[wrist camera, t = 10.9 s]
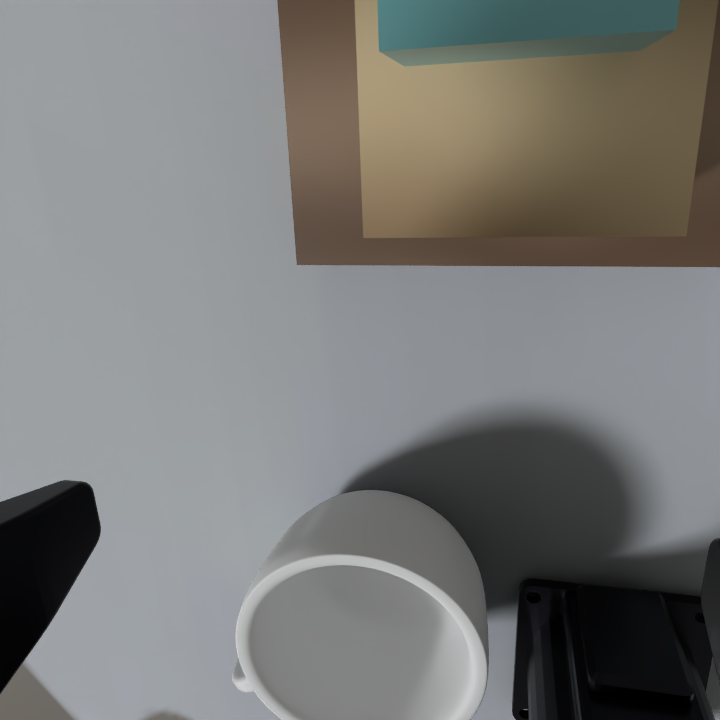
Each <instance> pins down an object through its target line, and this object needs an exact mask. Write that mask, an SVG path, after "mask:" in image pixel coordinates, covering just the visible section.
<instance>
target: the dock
mask: <svg viewBox="0 0 720 720" xmlns="http://www.w3.org/2000/svg"><path fill="white" fill-rule="evenodd" d="M278 13H279V26H280V40H281V54H282V67H283V81H284V95H285V109H286V122H287V136H288V150H289V163H290V177H291V191H292V204H293V218H294V232H295V245H296V259H297V265H435V266H634V267H720V0H718V7H717V14H716V22H715V29H714V36H713V44H712V51H711V58H710V66H709V73H708V81H707V88H706V95H705V103H704V110H703V117H702V125H701V132H700V139H699V147H698V154H697V162H696V169H695V176H694V184H693V191H692V198H691V206H690V213H689V220H688V228H687V235H686V236H673V237H466V238H363V217H362V190H361V162H360V135H359V108H358V81H357V54H356V27H355V0H278Z"/></svg>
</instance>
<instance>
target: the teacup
mask: <svg viewBox="0 0 720 720" xmlns="http://www.w3.org/2000/svg"><path fill="white" fill-rule="evenodd" d="M236 648H237V654H238V660H237V662H236V664H235V667H234V669H233V674H232V679H233V682H234V684H235V685H236V686H237V687H238V689H239V690H241V691H243V692H253V691H254V692H255V693H256V694H257V696H258V697H259V698H260V699H261V700H262V702H263V703H264V704H265V705H266V706H267V707H268V708H269V709H270V710H271V711H272V712H273V713H274V714H275V715H277V716H278V717H279V718H280V719H282V720H470V719H471V718H472V717H473V715H474V714H475V712H476V711H477V709H478V708H479V706H480V704H481V702H482V699H483V697H484V694H485V690H486V686H487V679H488V666H489V647H488V624H487V610H486V600H485V592H484V587H483V582H482V578H481V574H480V571H479V568H478V566H477V563H476V561H475V559H474V557H473V555H472V553H471V551H470V550H469V548H468V546H467V545H466V543H465V542H464V540H463V539H462V537H461V536H460V534H459V533H458V532H457V531H456V529H455V528H454V527H453V526H452V525H451V524H450V523H449V522H448V521H447V520H446V519H445V518H444V517H443V516H441V515H440V514H439V513H437V512H436V511H435V510H433V509H432V508H430V507H429V506H427V505H425V504H424V503H422V502H420V501H418V500H415V499H413V498H411V497H408V496H405V495H402V494H398V493H394V492H389V491H381V490H361V491H354V492H349V493H344V494H341V495H338V496H335V497H333V498H331V499H328V500H326V501H325V502H323V503H321V504H319V505H318V506H316V507H314V508H313V509H311V510H310V511H308V512H307V513H306V514H304V515H303V516H302V517H300V518H299V519H298V520H297V521H296V522H295V523H294V524H293V525H292V526H291V527H290V528H289V529H288V530H287V532H286V533H285V534H284V535H283V537H282V538H281V539H280V541H279V542H278V543H277V545H276V546H275V547H274V549H273V550H272V552H271V553H270V554H269V556H268V557H267V559H266V560H265V562H264V563H263V565H262V566H261V568H260V569H259V571H258V572H257V574H256V576H255V578H254V579H253V581H252V583H251V585H250V587H249V589H248V591H247V594H246V596H245V598H244V601H243V604H242V607H241V610H240V613H239V616H238V620H237V626H236Z"/></svg>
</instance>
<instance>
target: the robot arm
mask: <svg viewBox="0 0 720 720" xmlns="http://www.w3.org/2000/svg"><path fill="white" fill-rule="evenodd" d="M100 532H101V526H100V520H99V516H98V511H97V506H96V501H95V497H94V492H93V489H92V487H91V486H90V485H89V484H88V483H86V482H81V481H70V480H63V481H59V482H56V483H54V484H51V485H48V486H45V487H42V488H39V489H36V490H34V491H31V492H28V493H25V494H22V495H19V496H16V497H13V498H11V499H8V500H5V501H2V502H0V694H1V692H2V691H3V689H4V688H5V687H6V685H7V684H8V683H9V681H10V680H11V678H12V677H13V676H14V674H15V673H16V671H17V670H18V669H19V667H20V666H21V664H22V663H23V662H24V660H25V659H26V657H27V656H28V655H29V653H30V652H31V650H32V649H33V648H34V646H35V645H36V643H37V642H38V641H39V639H40V638H41V636H42V635H43V633H44V632H45V630H46V629H47V627H48V626H49V624H50V623H51V621H52V619H53V618H54V616H55V615H56V613H57V611H58V610H59V608H60V606H61V604H62V603H63V601H64V599H65V598H66V596H67V594H68V592H69V591H70V589H71V587H72V586H73V584H74V582H75V580H76V579H77V577H78V575H79V574H80V572H81V570H82V568H83V567H84V565H85V563H86V562H87V560H88V558H89V556H90V555H91V553H92V551H93V550H94V548H95V546H96V544H97V542H98V540H99V537H100ZM529 592H536V593H538V595H537V596H531V595H529V594H528V593H529ZM700 611H703V615H698V614H696V613H698V612H700ZM712 655H713V658H714V662H715V666H716V671H717V675H718V679H719V683H720V538H716V539H714V540H713V541H712V542H711V544H710V546H709V550H708V556H707V562H706V567H705V573H704V578H703V584H702V590H701V597H698V596H689V595H680V594H671V593H661V592H652V591H643V590H634V589H625V588H615V587H606V586H597V585H588V584H578V583H569V582H560V581H551V580H542V579H527V580H525V581H523V582H522V583H521V584H520V586H519V595H518V612H517V629H516V647H515V664H514V682H513V699H512V713H513V716H514V718H515V719H516V720H715V718H714V715H713V712H712V710H711V707H710V704H709V701H708V698H707V695H706V686H707V681H708V676H709V671H710V666H711V661H712ZM523 709H528V710H523Z"/></svg>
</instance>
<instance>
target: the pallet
mask: <svg viewBox="0 0 720 720" xmlns="http://www.w3.org/2000/svg"><path fill="white" fill-rule="evenodd" d="M717 7H718V0H680V2H679V11H678V19H677V28H676V30H675V31H673V32H671V33H670V34H668V35H666V36H665V37H663V38H661V39H659V40H658V41H656V42H654V43H653V44H651V45H649V46H647V47H646V48H644V49H642V50H640V51H631V52H616V53H601V54H586V55H571V56H556V57H541V58H526V59H511V60H496V61H481V62H466V63H451V64H435V65H420V66H405V67H404V66H403V65H401V64H399V63H398V62H396V61H394V60H393V59H391V58H389V57H388V56H386V55H384V54H383V53H381V52H379V39H378V3H377V0H355V27H356V54H357V81H358V108H359V135H360V162H361V190H362V217H363V238H466V237H673V236H686V235H687V228H688V220H689V213H690V206H691V198H692V191H693V184H694V176H695V169H696V162H697V154H698V147H699V139H700V132H701V125H702V117H703V110H704V103H705V95H706V88H707V81H708V73H709V66H710V58H711V51H712V44H713V36H714V29H715V22H716V14H717Z"/></svg>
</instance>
